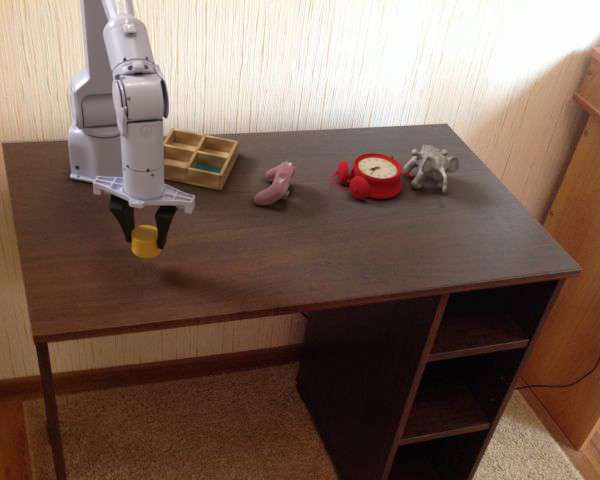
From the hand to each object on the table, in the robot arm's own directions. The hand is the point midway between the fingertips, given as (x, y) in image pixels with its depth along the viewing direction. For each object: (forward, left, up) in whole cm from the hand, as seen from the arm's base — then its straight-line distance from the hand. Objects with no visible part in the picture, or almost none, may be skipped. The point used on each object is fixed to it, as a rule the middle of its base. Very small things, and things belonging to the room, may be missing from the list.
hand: (146, 241), depth 114 cm
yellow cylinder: (0, 0, -1) cm, 1 cm away
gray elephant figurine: (+43, +41, -5) cm, 60 cm away
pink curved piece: (+15, +28, -5) cm, 32 cm away
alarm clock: (+31, +37, -5) cm, 48 cm away
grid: (-1, +32, -5) cm, 33 cm away
